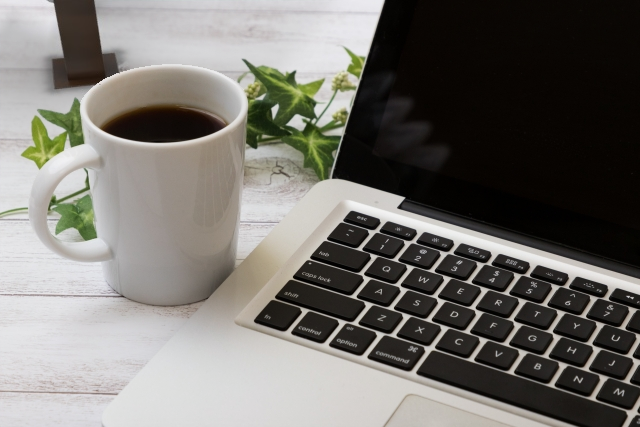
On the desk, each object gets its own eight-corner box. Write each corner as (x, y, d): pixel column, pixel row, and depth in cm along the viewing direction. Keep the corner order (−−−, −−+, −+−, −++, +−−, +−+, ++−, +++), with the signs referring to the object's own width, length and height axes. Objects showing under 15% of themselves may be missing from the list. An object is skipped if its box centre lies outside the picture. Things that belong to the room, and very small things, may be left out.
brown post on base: (52, 53, 90) (20, -108, 79) (112, 47, 92) (90, -111, 81) (57, 113, 80) (21, -62, 69) (125, 105, 82) (102, -67, 70)
